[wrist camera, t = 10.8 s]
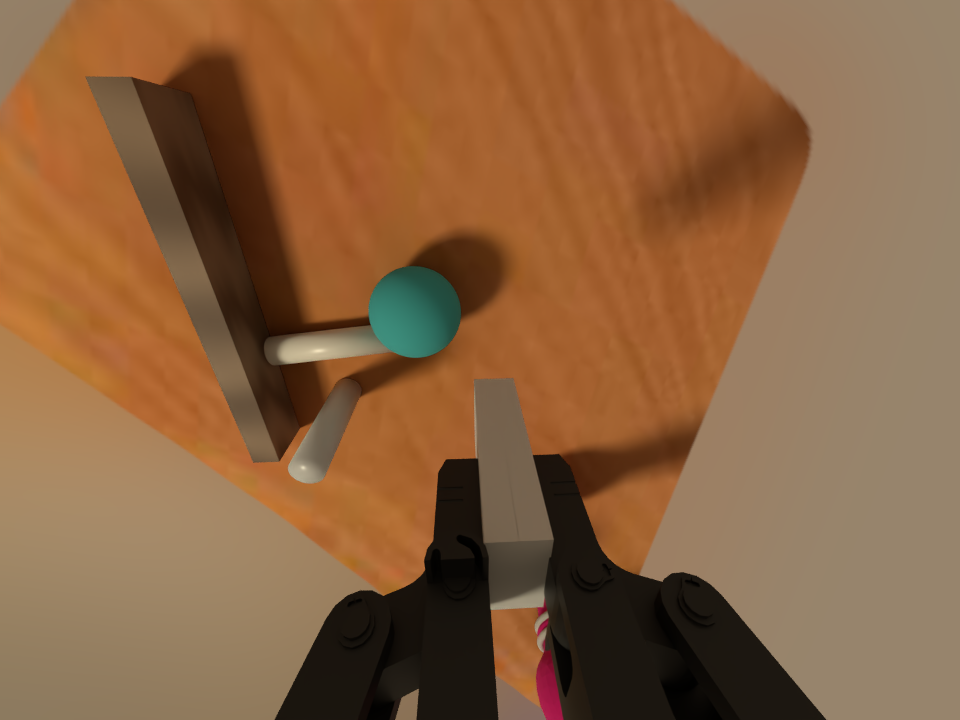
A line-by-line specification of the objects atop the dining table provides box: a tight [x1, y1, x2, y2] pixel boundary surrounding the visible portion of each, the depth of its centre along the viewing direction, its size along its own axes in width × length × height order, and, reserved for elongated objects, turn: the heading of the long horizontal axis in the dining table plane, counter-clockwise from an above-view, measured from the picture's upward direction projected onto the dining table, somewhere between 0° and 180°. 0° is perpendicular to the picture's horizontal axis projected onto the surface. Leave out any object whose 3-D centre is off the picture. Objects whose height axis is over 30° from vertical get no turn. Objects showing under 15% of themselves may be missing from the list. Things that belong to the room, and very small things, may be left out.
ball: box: [369, 266, 461, 358], centre depth 23 cm, size 6×6×6 cm
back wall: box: [86, 77, 300, 463], centre depth 23 cm, size 24×2×4 cm, turn 0°
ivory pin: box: [264, 325, 393, 366], centre depth 26 cm, size 2×2×9 cm
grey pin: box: [288, 378, 362, 483], centre depth 25 cm, size 2×2×9 cm
